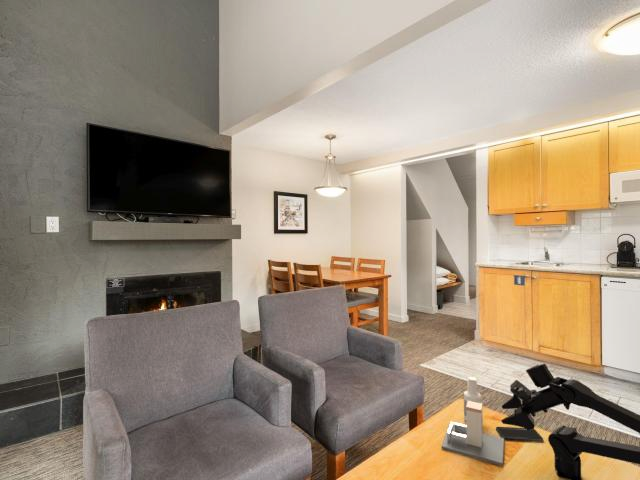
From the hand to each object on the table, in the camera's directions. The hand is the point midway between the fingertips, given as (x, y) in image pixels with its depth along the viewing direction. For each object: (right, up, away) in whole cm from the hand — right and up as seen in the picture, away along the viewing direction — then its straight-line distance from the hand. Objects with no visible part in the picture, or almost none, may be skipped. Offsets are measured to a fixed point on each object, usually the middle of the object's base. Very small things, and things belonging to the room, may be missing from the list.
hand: (502, 414), depth 124 cm
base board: (-8, -14, +5) cm, 17 cm away
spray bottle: (-1, -13, +21) cm, 25 cm away
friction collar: (-13, -13, +7) cm, 20 cm away
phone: (+12, -14, +10) cm, 21 cm away
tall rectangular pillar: (-8, -13, +4) cm, 16 cm away
